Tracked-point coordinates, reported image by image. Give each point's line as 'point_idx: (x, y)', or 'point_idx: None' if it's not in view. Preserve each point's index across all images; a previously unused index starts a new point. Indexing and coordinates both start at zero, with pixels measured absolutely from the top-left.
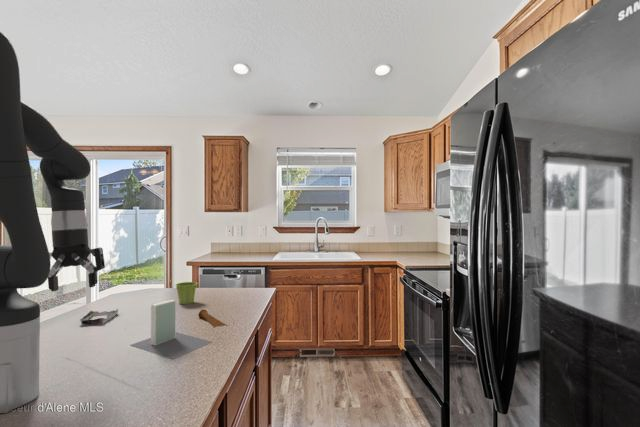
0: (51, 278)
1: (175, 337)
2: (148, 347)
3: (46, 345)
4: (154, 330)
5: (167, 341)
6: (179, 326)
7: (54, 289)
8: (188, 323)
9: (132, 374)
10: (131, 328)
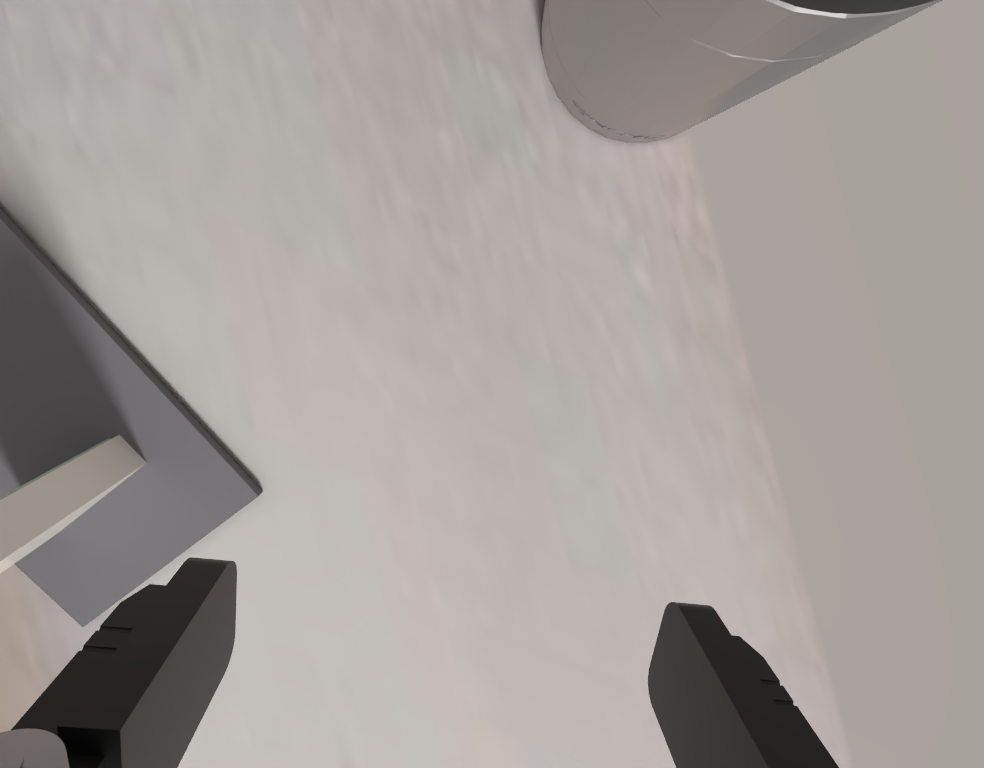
0: (793, 759)
1: None
2: (148, 421)
3: None
4: (62, 474)
5: None
6: None
7: (677, 613)
8: None
9: (159, 106)
10: (317, 759)
